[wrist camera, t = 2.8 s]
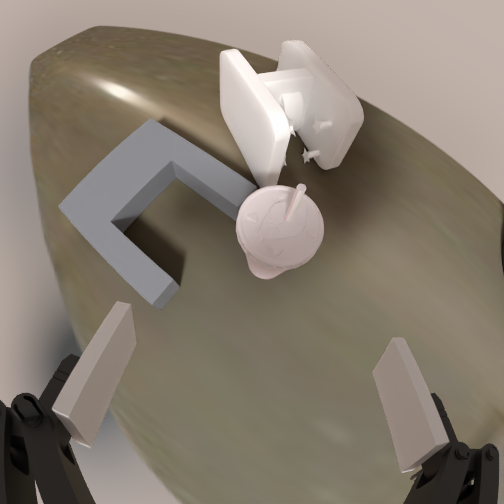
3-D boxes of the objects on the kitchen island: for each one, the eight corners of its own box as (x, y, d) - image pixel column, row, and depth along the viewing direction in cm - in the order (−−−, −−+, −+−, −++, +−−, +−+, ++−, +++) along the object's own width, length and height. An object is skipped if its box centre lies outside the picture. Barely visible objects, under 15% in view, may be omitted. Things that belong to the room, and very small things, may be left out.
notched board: (254, 202, 31) (256, 186, 28) (160, 309, 27) (151, 304, 24) (156, 136, 34) (150, 118, 30) (71, 219, 29) (58, 206, 26)
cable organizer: (216, 111, 36) (215, 41, 25) (285, 96, 37) (299, 32, 26) (260, 199, 32) (275, 129, 21) (338, 175, 34) (375, 111, 22)
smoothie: (308, 269, 29) (366, 209, 16) (258, 305, 28) (283, 268, 15) (272, 221, 31) (300, 135, 17) (222, 252, 29) (216, 177, 16)
